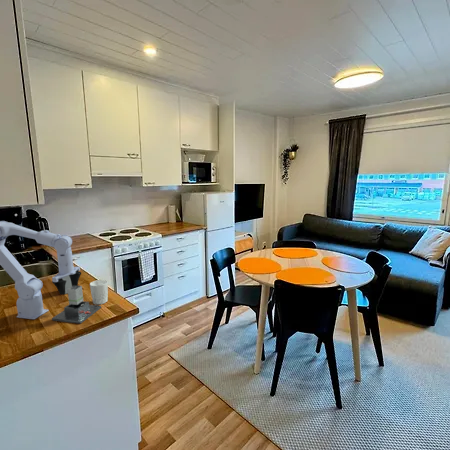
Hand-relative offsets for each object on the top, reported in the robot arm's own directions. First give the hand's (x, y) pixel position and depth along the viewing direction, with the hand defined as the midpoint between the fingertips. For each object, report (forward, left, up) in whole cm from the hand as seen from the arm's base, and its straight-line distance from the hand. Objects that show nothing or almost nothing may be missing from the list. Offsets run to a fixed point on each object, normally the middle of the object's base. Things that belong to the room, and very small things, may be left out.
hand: (68, 290), depth 124 cm
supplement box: (-17, +19, -10) cm, 27 cm away
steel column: (+5, -2, -4) cm, 7 cm away
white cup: (+8, +11, -10) cm, 17 cm away
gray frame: (+5, -2, -10) cm, 11 cm away
